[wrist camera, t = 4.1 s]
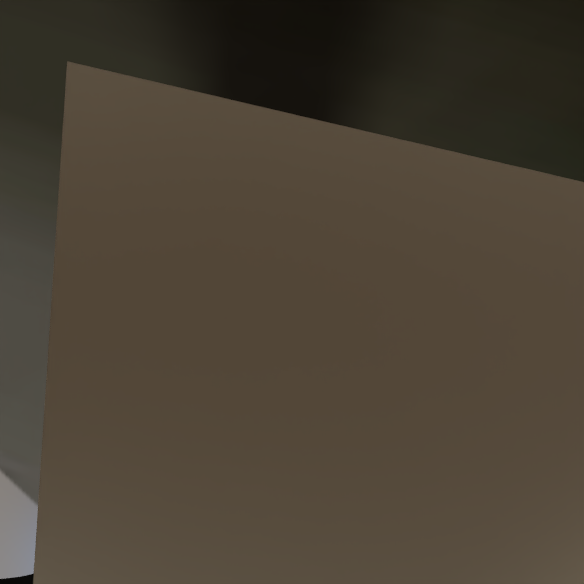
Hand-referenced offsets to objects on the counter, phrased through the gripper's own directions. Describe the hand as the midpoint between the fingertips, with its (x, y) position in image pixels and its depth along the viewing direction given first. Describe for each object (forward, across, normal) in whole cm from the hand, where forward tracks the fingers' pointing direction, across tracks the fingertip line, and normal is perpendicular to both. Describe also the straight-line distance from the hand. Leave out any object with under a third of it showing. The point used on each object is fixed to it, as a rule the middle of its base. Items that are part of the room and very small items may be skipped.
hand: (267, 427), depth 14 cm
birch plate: (+1, 0, 0) cm, 1 cm away
